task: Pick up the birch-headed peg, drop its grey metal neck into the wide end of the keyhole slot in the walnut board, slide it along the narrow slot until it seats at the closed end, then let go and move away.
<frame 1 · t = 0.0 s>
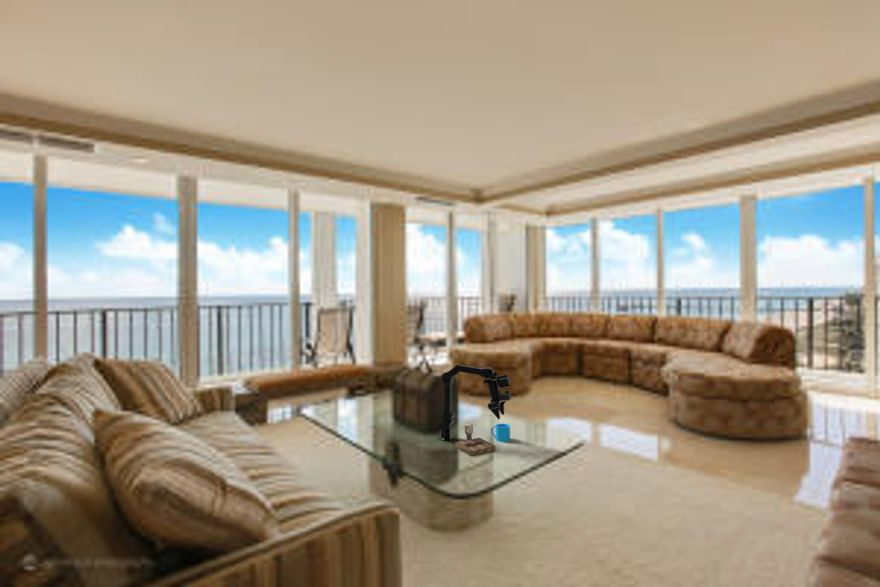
hand: (501, 416, 234), 15 cm above the table, tool pointing down, fingers open, 9 cm apart
keyhole board: (475, 448, 228), on the table
mug: (500, 439, 243), on the table
peg: (469, 440, 241), on the table
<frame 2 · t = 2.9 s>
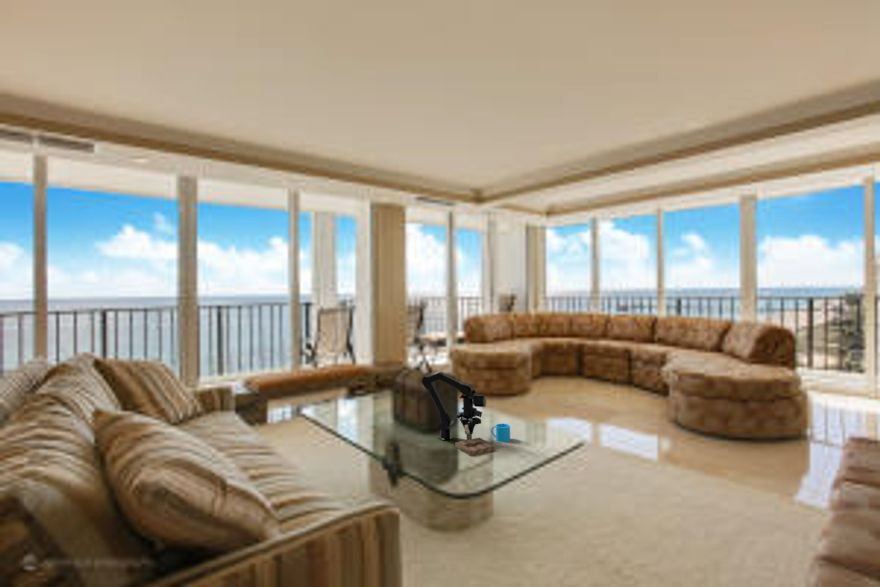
hand: (469, 432, 242), 5 cm above the table, tool pointing down, fingers closed on peg, 5 cm apart
peg: (469, 440, 241), on the table, touching gripper
everything else where it was.
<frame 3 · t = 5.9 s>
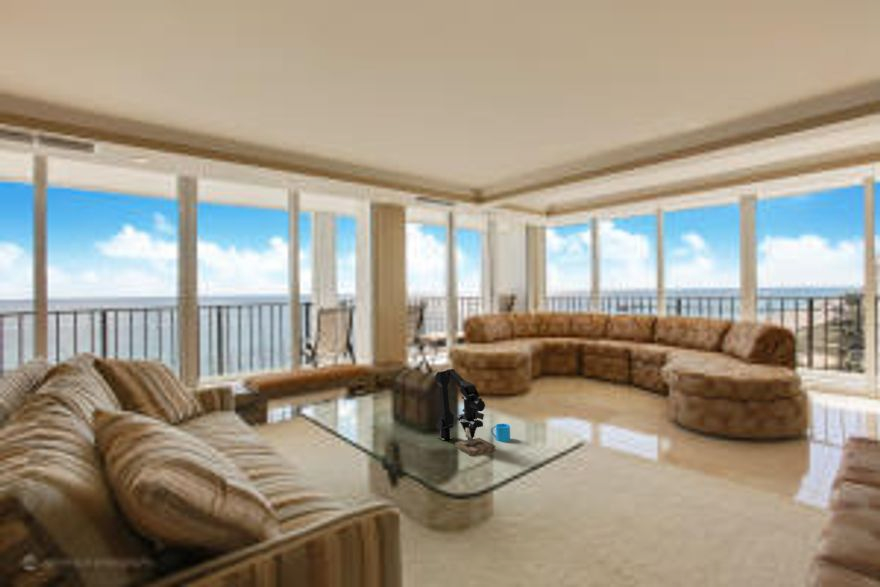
hand: (470, 436, 227), 7 cm above the table, tool pointing down, fingers closed on peg, 5 cm apart
peg: (470, 444, 227), point 3 cm above the table, touching gripper
everything else where it was.
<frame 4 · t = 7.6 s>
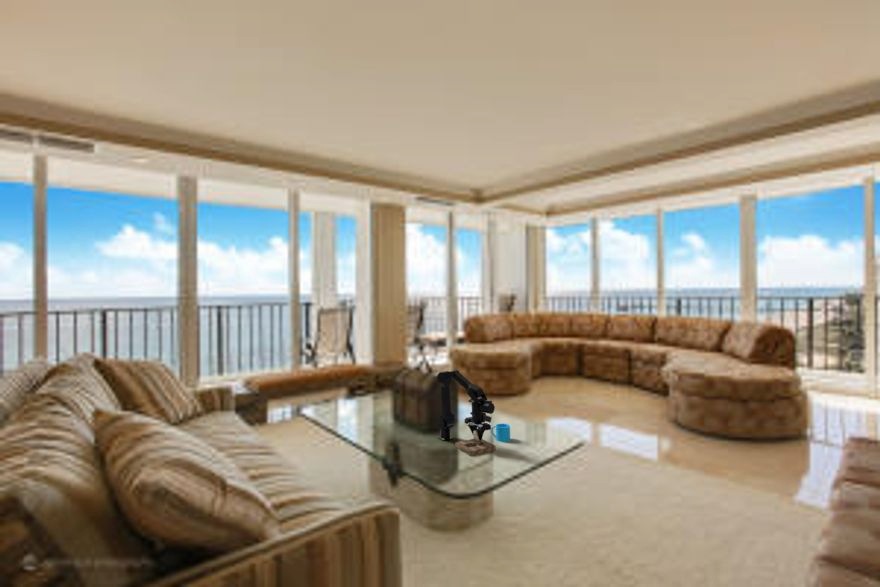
hand: (477, 439, 229), 5 cm above the table, tool pointing down, fingers closed on peg, 5 cm apart
peg: (478, 447, 229), resting in keyhole board, touching gripper
everything else where it was.
when the fingers open (5 cm above the table, at t = 9.1 s): peg stays where it is, resting in keyhole board.
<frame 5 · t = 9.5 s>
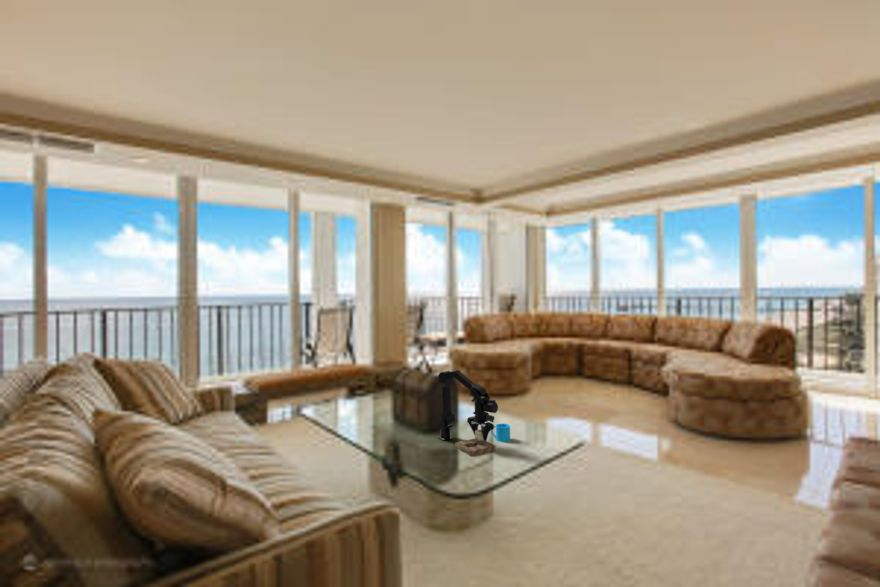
hand: (480, 438, 230), 5 cm above the table, tool pointing down, fingers open, 9 cm apart
peg: (480, 447, 230), resting in keyhole board
everything else where it was.
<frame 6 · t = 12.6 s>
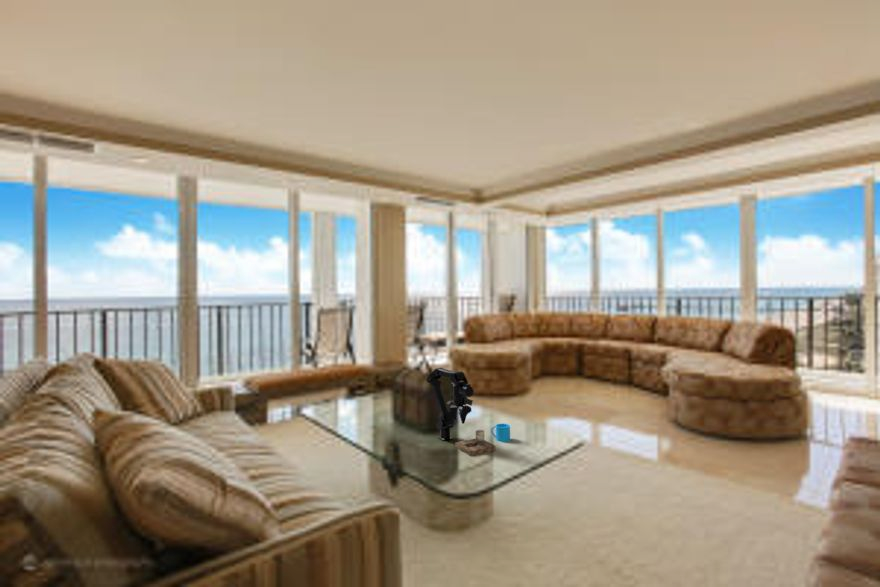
hand: (459, 421, 235), 13 cm above the table, tool pointing down, fingers open, 9 cm apart
nothing on the table moved.
at the end: peg 0.0 cm from the target spot on the keyhole board, point 0.0 cm above the keyhole board's base; peg tilted 1°; the gripper is holding nothing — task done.
